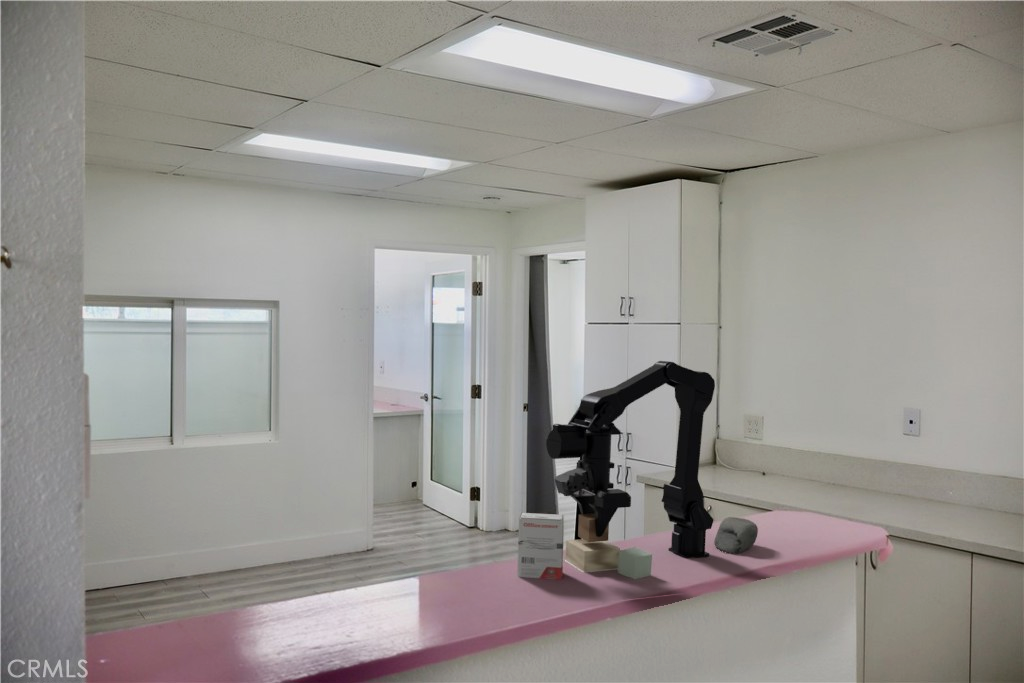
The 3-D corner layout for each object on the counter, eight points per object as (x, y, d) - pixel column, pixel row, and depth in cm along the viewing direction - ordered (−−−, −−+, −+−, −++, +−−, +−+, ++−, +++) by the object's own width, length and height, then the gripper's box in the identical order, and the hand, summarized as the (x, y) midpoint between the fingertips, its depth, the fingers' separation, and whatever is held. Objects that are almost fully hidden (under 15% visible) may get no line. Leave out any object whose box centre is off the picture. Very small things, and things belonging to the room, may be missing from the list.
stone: (701, 545, 176) (717, 504, 179) (723, 558, 181) (738, 518, 184) (734, 556, 169) (749, 513, 172) (756, 569, 174) (770, 527, 176)
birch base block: (599, 556, 163) (600, 537, 163) (619, 568, 156) (620, 548, 156) (565, 559, 160) (566, 540, 160) (583, 571, 153) (584, 551, 153)
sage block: (633, 569, 156) (635, 547, 156) (650, 576, 152) (652, 554, 152) (617, 572, 153) (619, 550, 153) (634, 580, 150) (636, 557, 149)
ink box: (562, 573, 152) (565, 513, 152) (561, 581, 147) (564, 519, 147) (518, 570, 153) (521, 511, 153) (516, 578, 148) (518, 516, 148)
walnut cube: (597, 534, 161) (598, 513, 161) (608, 540, 157) (609, 518, 157) (577, 536, 159) (578, 514, 159) (588, 542, 155) (589, 519, 155)
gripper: (540, 450, 163) (538, 524, 164) (582, 466, 146) (579, 549, 146) (587, 449, 168) (585, 521, 168) (633, 464, 150) (630, 544, 151)
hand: (593, 533), depth 158 cm, fingers closed on walnut cube, 4 cm apart
